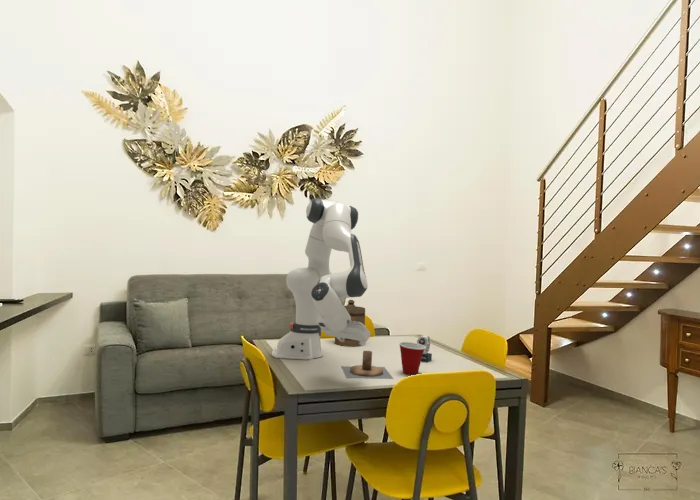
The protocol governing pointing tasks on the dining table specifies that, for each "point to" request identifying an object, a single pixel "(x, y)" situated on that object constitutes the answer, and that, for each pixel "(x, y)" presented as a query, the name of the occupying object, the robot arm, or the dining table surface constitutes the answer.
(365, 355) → the walnut lid
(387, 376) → the rubber mat
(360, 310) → the wooden container
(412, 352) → the plastic cup
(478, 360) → the dining table surface
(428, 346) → the grey black curved piece
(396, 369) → the dining table surface
